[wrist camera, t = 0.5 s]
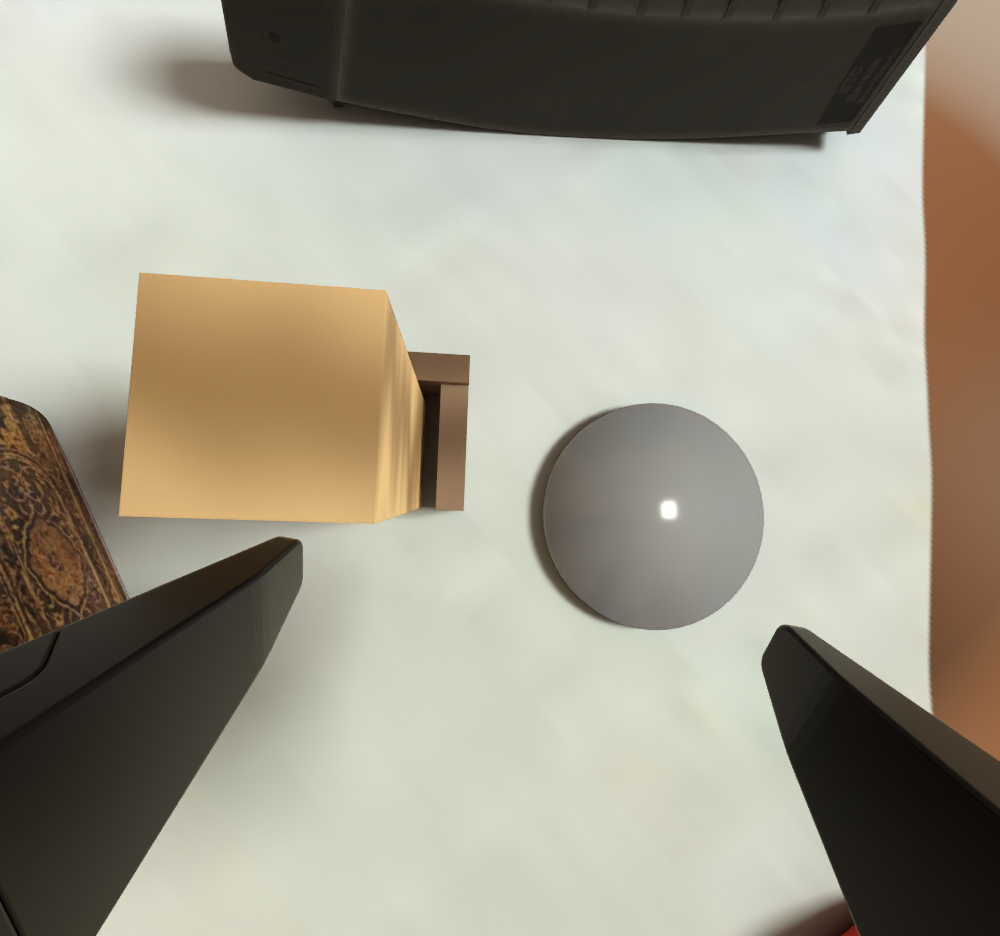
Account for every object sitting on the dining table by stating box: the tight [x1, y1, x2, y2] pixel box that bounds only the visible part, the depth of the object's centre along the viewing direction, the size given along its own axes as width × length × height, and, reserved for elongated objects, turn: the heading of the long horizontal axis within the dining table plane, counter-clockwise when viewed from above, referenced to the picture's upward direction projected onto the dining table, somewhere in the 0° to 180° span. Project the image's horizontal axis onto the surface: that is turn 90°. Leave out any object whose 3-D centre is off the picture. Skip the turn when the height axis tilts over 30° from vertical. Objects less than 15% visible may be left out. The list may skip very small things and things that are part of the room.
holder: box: [408, 352, 470, 511], centre depth 21 cm, size 7×9×3 cm
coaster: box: [543, 403, 764, 630], centre depth 23 cm, size 11×11×1 cm
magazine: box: [221, 0, 957, 139], centre depth 20 cm, size 17×3×30 cm
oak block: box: [119, 273, 426, 524], centre depth 16 cm, size 5×5×13 cm
